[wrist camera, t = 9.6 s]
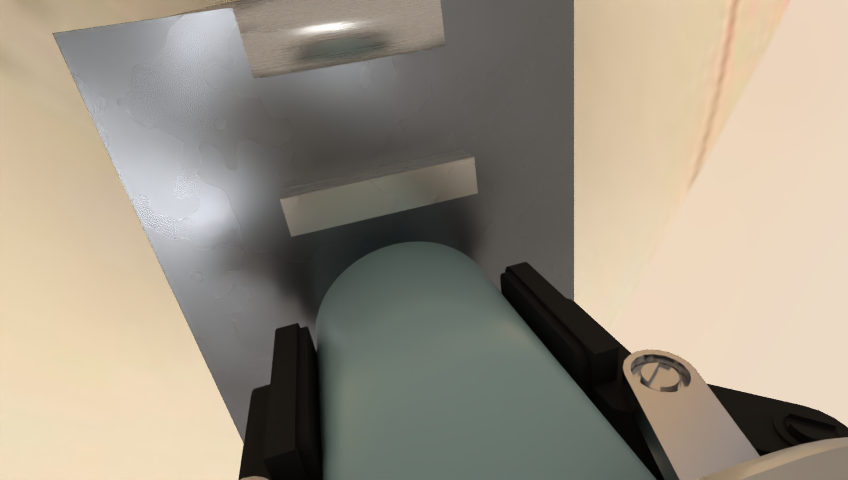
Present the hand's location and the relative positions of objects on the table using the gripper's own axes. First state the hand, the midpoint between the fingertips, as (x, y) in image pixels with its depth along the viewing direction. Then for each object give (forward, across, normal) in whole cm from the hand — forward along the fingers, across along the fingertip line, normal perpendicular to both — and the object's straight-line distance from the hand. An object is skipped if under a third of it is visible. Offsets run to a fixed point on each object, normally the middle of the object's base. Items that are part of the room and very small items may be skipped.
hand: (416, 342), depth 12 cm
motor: (+14, 0, 0) cm, 14 cm away
